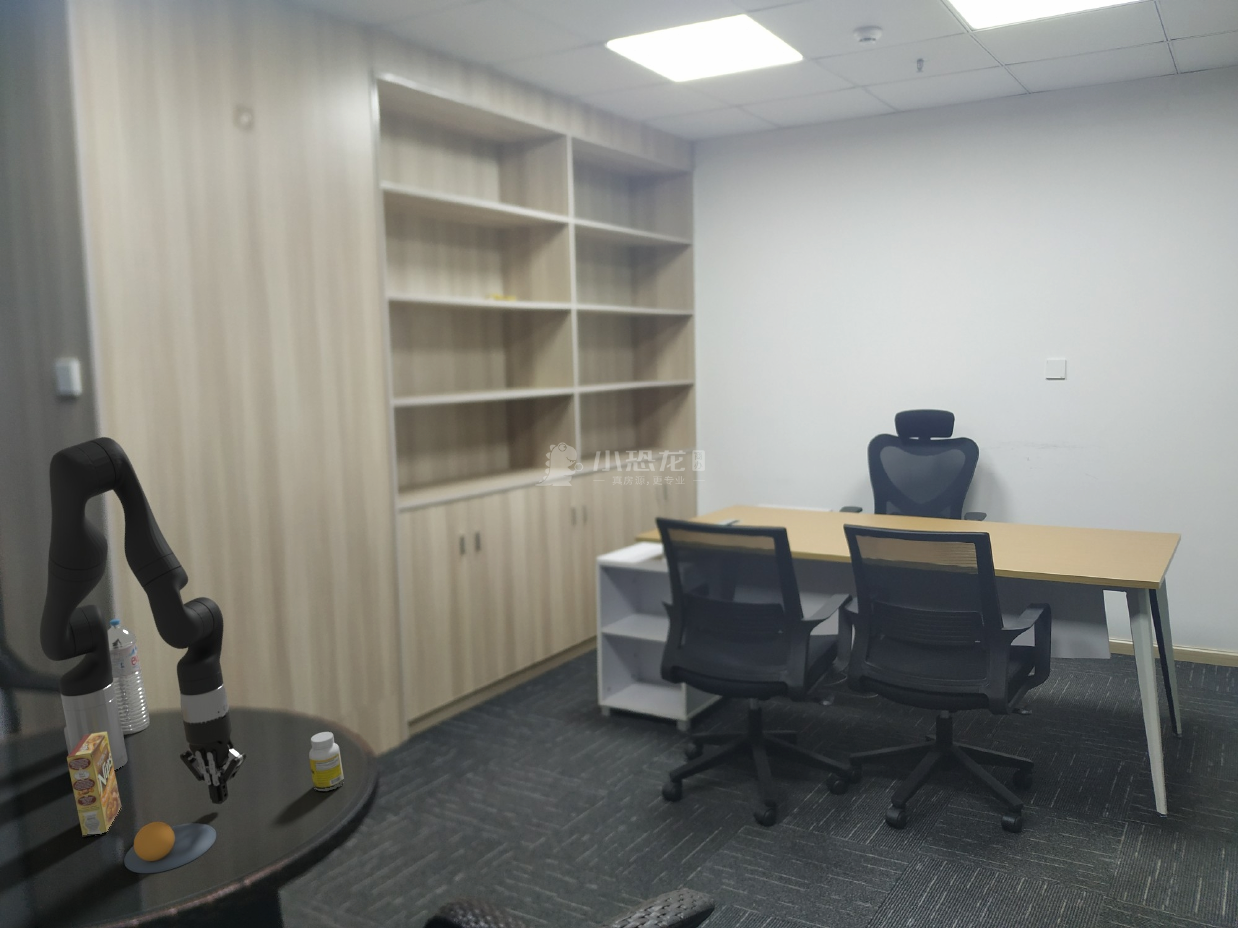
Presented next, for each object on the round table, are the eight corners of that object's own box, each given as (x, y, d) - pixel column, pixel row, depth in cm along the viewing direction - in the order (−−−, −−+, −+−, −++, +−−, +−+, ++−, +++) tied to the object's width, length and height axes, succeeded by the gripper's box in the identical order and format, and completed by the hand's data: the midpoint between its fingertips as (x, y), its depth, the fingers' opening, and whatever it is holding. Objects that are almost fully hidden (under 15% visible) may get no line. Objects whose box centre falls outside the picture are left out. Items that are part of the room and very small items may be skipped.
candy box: (107, 834, 160) (92, 752, 157) (81, 838, 159) (65, 756, 157) (122, 808, 169) (108, 730, 166) (97, 812, 168) (82, 734, 165)
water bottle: (136, 736, 199) (116, 625, 194) (108, 735, 200) (88, 625, 196) (157, 721, 205) (139, 614, 201) (131, 721, 207) (112, 614, 202)
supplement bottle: (317, 779, 174) (310, 731, 172) (346, 776, 174) (340, 728, 172) (310, 794, 168) (303, 744, 167) (340, 791, 169) (334, 741, 167)
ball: (118, 848, 149) (141, 812, 152) (143, 861, 153) (164, 826, 156) (143, 856, 146) (165, 820, 149) (167, 870, 150) (189, 833, 154)
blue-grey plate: (104, 867, 150) (104, 866, 150) (169, 820, 163) (169, 819, 163) (173, 877, 146) (173, 876, 146) (234, 828, 159) (234, 827, 159)
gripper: (159, 718, 161) (174, 809, 164) (221, 723, 157) (236, 816, 160) (190, 699, 168) (205, 787, 171) (251, 704, 164) (264, 794, 167)
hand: (220, 801), depth 165 cm, fingers closed
